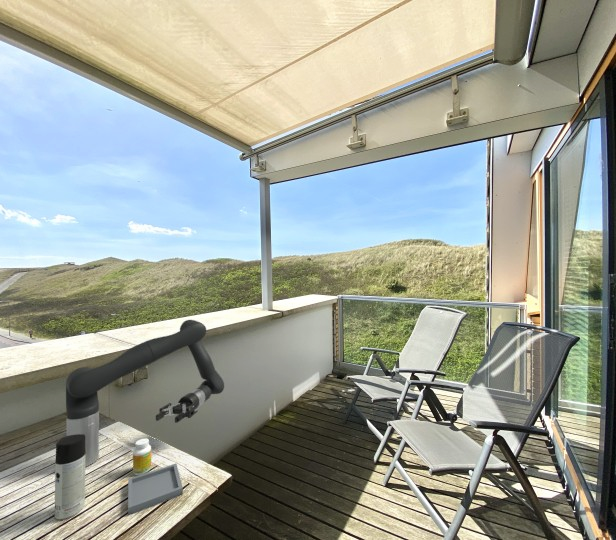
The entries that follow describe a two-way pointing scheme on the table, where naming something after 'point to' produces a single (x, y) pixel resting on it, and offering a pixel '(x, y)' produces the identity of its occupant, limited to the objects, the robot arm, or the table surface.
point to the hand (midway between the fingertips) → (166, 419)
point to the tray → (153, 488)
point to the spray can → (69, 476)
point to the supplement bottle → (142, 457)
